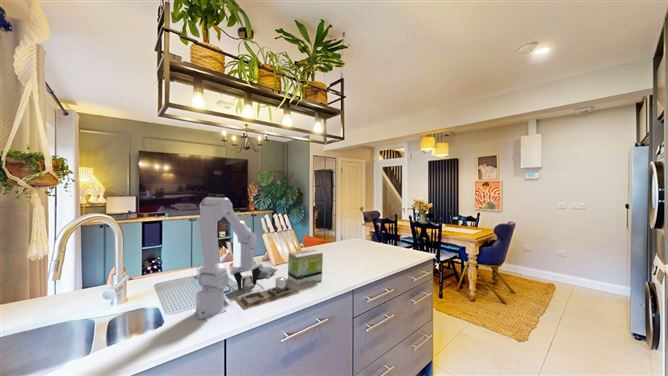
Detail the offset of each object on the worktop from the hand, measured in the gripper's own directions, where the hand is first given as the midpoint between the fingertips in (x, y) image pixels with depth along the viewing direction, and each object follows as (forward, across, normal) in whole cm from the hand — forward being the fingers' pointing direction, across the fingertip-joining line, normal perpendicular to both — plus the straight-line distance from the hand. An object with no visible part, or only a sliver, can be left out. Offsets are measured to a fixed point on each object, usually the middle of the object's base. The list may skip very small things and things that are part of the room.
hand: (246, 286), depth 118 cm
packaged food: (+2, +15, +11) cm, 19 cm away
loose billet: (+2, 0, 0) cm, 2 cm away
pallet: (+2, +3, -14) cm, 15 cm away
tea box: (+2, +28, -7) cm, 29 cm away
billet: (0, +9, -14) cm, 17 cm away
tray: (+2, 0, 0) cm, 2 cm away
